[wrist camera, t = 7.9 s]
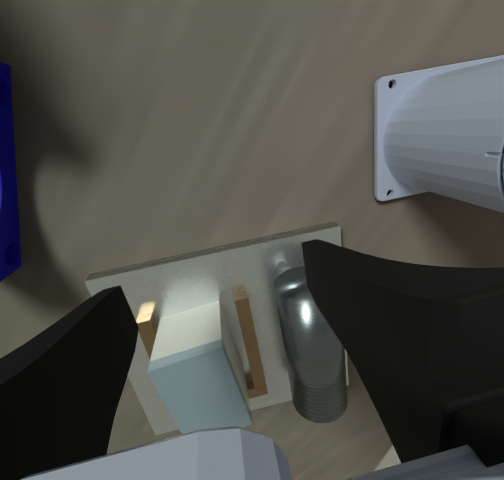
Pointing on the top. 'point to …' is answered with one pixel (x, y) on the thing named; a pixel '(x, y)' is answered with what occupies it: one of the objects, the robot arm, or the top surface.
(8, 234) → the cable clip
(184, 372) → the block
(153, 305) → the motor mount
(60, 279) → the top surface
